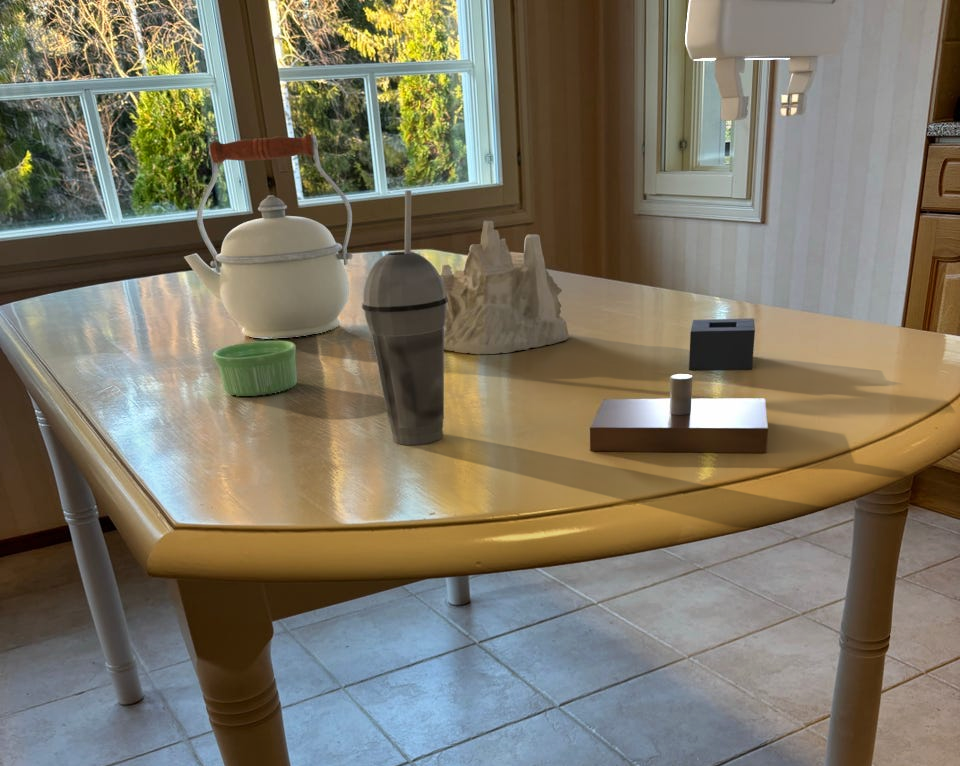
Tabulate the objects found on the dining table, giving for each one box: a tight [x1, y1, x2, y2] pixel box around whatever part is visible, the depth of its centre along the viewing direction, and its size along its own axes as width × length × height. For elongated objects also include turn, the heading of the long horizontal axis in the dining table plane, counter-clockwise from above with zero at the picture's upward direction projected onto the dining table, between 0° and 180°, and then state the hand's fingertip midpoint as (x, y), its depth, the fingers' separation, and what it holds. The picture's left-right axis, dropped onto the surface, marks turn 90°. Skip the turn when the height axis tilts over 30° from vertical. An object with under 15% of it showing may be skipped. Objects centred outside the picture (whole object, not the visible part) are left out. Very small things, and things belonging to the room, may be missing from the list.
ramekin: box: [212, 340, 298, 397], centre depth 103 cm, size 9×9×4 cm
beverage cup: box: [361, 190, 448, 446], centre depth 79 cm, size 7×7×20 cm
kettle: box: [183, 133, 353, 338], centre depth 130 cm, size 25×18×25 cm
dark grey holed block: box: [688, 318, 756, 371], centre depth 100 cm, size 6×6×4 cm
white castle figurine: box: [439, 220, 570, 356], centre depth 116 cm, size 16×16×15 cm
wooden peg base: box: [589, 373, 769, 454], centre depth 78 cm, size 14×9×5 cm, turn 76°
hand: (764, 118), depth 84 cm, fingers open, 8 cm apart
